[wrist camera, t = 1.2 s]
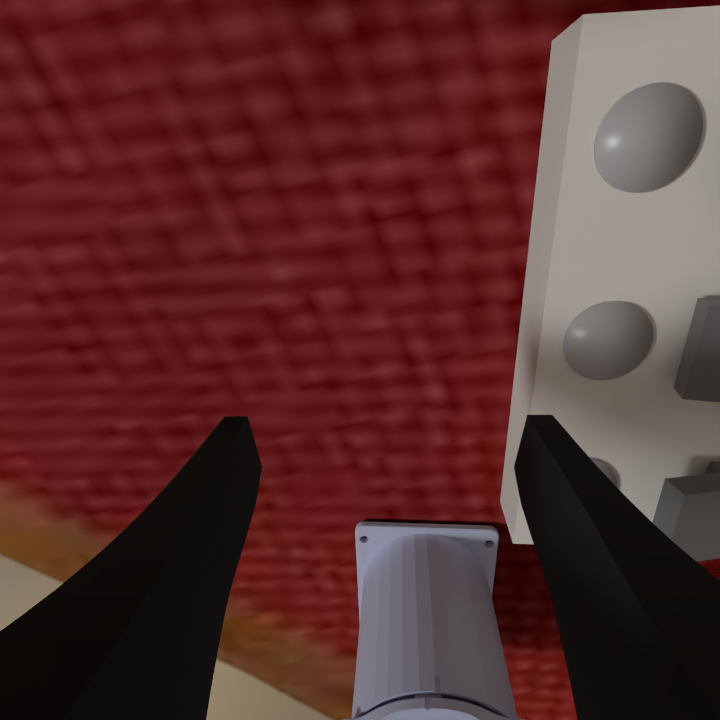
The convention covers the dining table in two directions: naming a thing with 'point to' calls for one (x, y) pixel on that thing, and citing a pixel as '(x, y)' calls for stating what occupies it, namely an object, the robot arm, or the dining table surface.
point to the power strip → (622, 249)
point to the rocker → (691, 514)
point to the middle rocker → (701, 354)
